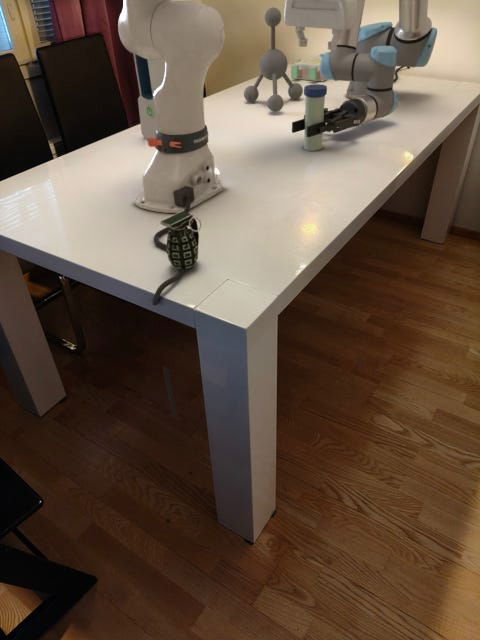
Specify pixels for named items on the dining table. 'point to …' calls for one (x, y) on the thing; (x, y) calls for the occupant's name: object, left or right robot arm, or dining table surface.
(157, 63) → the electronic device
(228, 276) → the dining table surface
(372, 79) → the right robot arm
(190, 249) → the grenade
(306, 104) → the jar
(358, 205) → the dining table surface
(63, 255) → the dining table surface
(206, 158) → the left robot arm
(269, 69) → the molecular model
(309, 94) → the lid
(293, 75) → the decorative block
